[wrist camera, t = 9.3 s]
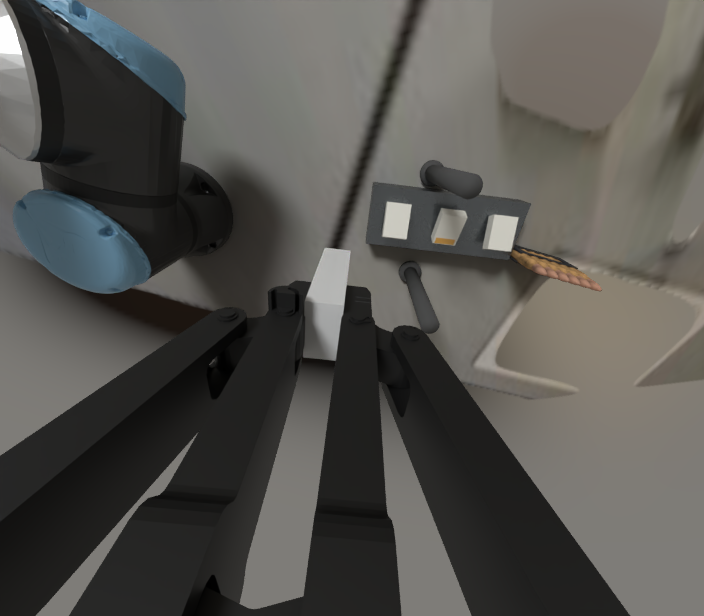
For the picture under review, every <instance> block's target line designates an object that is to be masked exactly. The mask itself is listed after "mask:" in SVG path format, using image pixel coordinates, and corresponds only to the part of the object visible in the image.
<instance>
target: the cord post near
mask: <svg viewBox="0 0 704 616" xmlns="http://www.w3.org/2000/svg"><path fill="white" fill-rule="evenodd" d="M420 178H421V180H422V182H423V183H424V184H426V185H428V186H434V185H437V186H439V187H441V188H443V189H445V190H448V191H450V192H452V193H454V194H456V195H458V196H460V197H462V198H464V199H473V198H475V197H476V196H478V195H479V193H480V192H481V190H482V187H483V182H482V179H481V177H480V176H479V175H477V174H473V173H468V172H464V171H460V170H455V169H451V168H446V167H443V165H442V164H441V163H440V162H439V161H435V160H431V161H428V162H426V163H425V164H424V165H423V166H422V168H421V171H420Z"/></svg>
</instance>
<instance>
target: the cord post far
mask: <svg viewBox="0 0 704 616" xmlns="http://www.w3.org/2000/svg"><path fill="white" fill-rule="evenodd" d="M399 275H400V278H401V279H402V280H403V281H404V282H406V283H407V286H408V289H409V292H410V296H411V299H412V302H413V305H414V308H415V311H416V314H417V318H418V321H419V324H420V327H421V330H422V331H423V332H425V333H428V334H430V333H434V332H436V331H437V330H438V328H439V321H438V319H437V317H436V315H435V312H434V310H433V308H432V305H431V303H430V301H429V298H428V296H427V294H426V291H425V289H424V287H423V284H422V282H421V280H420V278H419V277H420V275H421V269H420V266H419V265H418V264H417V263H416V262H413V261H408V262H405V263H403V264H402V265H401V267H400V269H399Z"/></svg>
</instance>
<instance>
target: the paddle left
mask: <svg viewBox="0 0 704 616" xmlns="http://www.w3.org/2000/svg"><path fill="white" fill-rule="evenodd" d="M411 206H412V205H411V204H403V203H395V202H387V203H386V207H385V215H384V223H383V230H382V237H385V238H394V239H402V240H406V239H407V233H408V226H409V219H410V213H411Z"/></svg>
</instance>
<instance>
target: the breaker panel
mask: <svg viewBox="0 0 704 616" xmlns="http://www.w3.org/2000/svg"><path fill="white" fill-rule="evenodd" d="M387 202H395V203H403V204H411V205H412V206H411V213H410V219H409V226H408V233H407V239H406V240H402V239H394V238H385V237H382V230H383V223H384V215H385V207H386V203H387ZM530 205H531V203H527V202H524V201H521V200H518V199H510V198H502V197H493V196H485V195H478V196H476V197H475V198H473V199H464V198H462V197H460V196H458V195H456V194H454V193H452V192H450V191H444V190H435V189H427V188H419V187H411V186H402V185H394V184H386V183H378V182H373V187H372V195H371V202H370V210H369V217H368V225H367V232H366V243H367V244H376V245H384V246H393V247H401V248H410V249H418V250H427V251H436V252H444V253H453V254H461V255H470V256H478V257H487V258H495V259H504V260H509V258H510V255H511V253H512V250H513V248H514V245H515V243H516V240H517V238H518V235H519V233H520V230H521V228H522V225H523V223H524V220H525V218H526V215H527V213H528V210H529V208H530ZM441 208H445V209H454V210H462V211H465V212H466V215H467V220H466V222H465V224H464V227H463V229H462V231H461V233H460V235H459V238H458V240H457V242H456V244H455V246H453V245H444V244H436V243H432V239H431V235H432V232H433V229H434V226H435V224H436V221H437V218H438V215H439V213H440V210H441ZM491 215H503V216H512V217H519V218H518V222H517V227H516V231H515V236H514V240H513V245H512V249H511V252H505V251H496V250H488V249H482V248H483V243H484V238H485V233H486V228H487V223H488V218H489V216H491Z"/></svg>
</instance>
